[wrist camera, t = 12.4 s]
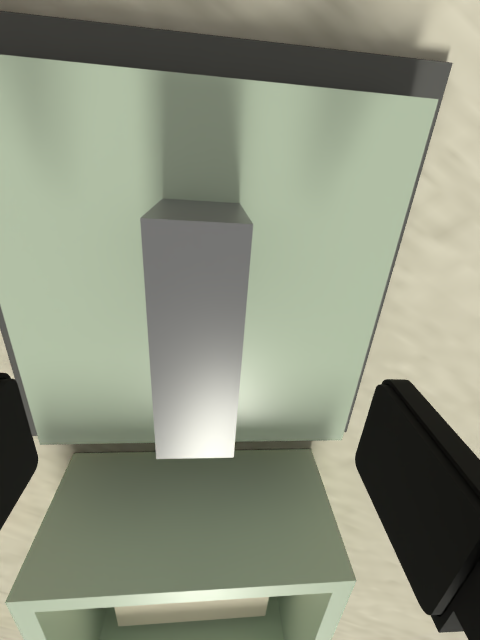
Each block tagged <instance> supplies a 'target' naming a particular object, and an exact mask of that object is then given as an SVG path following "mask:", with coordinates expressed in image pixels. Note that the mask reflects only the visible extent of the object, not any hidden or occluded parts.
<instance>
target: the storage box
mask: <svg viewBox="0 0 480 640" xmlns="http://www.w3.org/2000/svg"><path fill="white" fill-rule="evenodd" d="M355 583H356V578H355V575H354V572H353V569H352V567H351V564H350V561H349V558H348V555H347V552H346V549H345V546H344V543H343V540H342V538H341V535H340V532H339V529H338V526H337V523H336V520H335V517H334V514H333V511H332V509H331V506H330V503H329V500H328V497H327V494H326V491H325V488H324V485H323V483H322V480H321V477H320V474H319V471H318V468H317V465H316V462H315V459H314V456H313V454H312V451H311V449H278V450H234V458H184V459H156V452H111V453H74V454H73V456H72V459H71V461H70V463H69V465H68V467H67V469H66V472H65V474H64V476H63V478H62V480H61V482H60V485H59V487H58V489H57V491H56V493H55V495H54V498H53V500H52V502H51V504H50V506H49V508H48V511H47V513H46V515H45V517H44V519H43V522H42V524H41V526H40V528H39V530H38V532H37V535H36V537H35V539H34V541H33V543H32V545H31V548H30V550H29V552H28V554H27V556H26V558H25V561H24V563H23V565H22V567H21V569H20V571H19V574H18V576H17V578H16V580H15V582H14V585H13V587H12V589H11V591H10V593H9V595H8V598H7V600H6V602H5V603H6V605H7V607H8V609H9V611H10V613H11V615H12V617H13V619H14V621H15V623H16V625H17V627H18V629H19V631H20V633H21V635H22V637H23V639H24V640H331V639H332V637H333V635H334V632H335V630H336V628H337V625H338V623H339V621H340V618H341V616H342V614H343V611H344V609H345V606H346V604H347V602H348V599H349V597H350V595H351V592H352V590H353V588H354V585H355Z"/></svg>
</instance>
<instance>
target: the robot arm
mask: <svg viewBox="0 0 480 640" xmlns="http://www.w3.org/2000/svg"><path fill="white" fill-rule="evenodd" d="M355 463H356V467H357V470H358V472H359V474H360V476H361V479H362V481H363V483H364V485H365V487H366V489H367V492H368V494H369V496H370V498H371V500H372V502H373V505H374V507H375V509H376V511H377V513H378V516H379V518H380V520H381V522H382V524H383V526H384V529H385V531H386V533H387V535H388V537H389V539H390V542H391V544H392V546H393V548H394V550H395V552H396V555H397V557H398V559H399V561H400V563H401V566H402V568H403V570H404V572H405V574H406V576H407V579H408V581H409V583H410V585H411V587H412V589H413V592H414V594H415V596H416V598H417V600H418V602H419V604H420V606H421V608H422V609H423V611H424V612H425V613H426V614H427V615H431V617H432V619H433V621H434V623H435V625H436V628H437V630H438V632H439V633H440V632H458V631H464V632H465V634H466V636H467V638H468V640H480V460H479V458H478V457H477V456H476V455H475V454H474V453H473V452H472V451H471V449H470V448H469V447H468V446H467V445H466V444H465V443H464V442H463V440H462V439H461V438H460V437H459V436H458V435H457V434H456V433H455V431H454V430H453V429H452V428H451V427H450V426H449V425H448V424H447V422H446V421H445V420H444V419H443V418H442V417H441V416H440V415H439V413H438V412H437V411H436V410H435V409H434V408H433V407H432V406H431V404H430V403H429V402H428V401H427V400H426V399H425V398H424V397H423V395H422V394H421V393H420V392H419V391H418V390H417V389H416V388H415V386H414V385H413V384H412V383H411V382H410V381H408V380H395V379H387V380H384V381H383V382H382V384H381V385H378V386H377V387H376V389H375V393H374V396H373V399H372V402H371V406H370V409H369V412H368V416H367V419H366V422H365V425H364V429H363V432H362V435H361V438H360V442H359V445H358V448H357V452H356V455H355ZM37 464H38V455H37V451H36V448H35V444H34V441H33V437H32V433H31V430H30V426H29V423H28V419H27V416H26V412H25V409H24V405H23V401H22V398H21V394H20V391H19V387H18V384H17V382H16V380H14V379H11V378H10V376H9V375H8V374H6V373H0V530H1V528H2V526H3V525H4V523H5V521H6V520H7V518H8V516H9V515H10V513H11V511H12V509H13V508H14V506H15V504H16V503H17V501H18V499H19V498H20V496H21V494H22V493H23V491H24V489H25V487H26V486H27V484H28V482H29V481H30V479H31V477H32V476H33V474H34V472H35V470H36V467H37Z"/></svg>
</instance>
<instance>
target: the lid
mask: <svg viewBox="0 0 480 640" xmlns="http://www.w3.org/2000/svg"><path fill="white" fill-rule="evenodd" d="M438 100H439V99H431V98H421V97H412V96H402V95H392V94H382V93H372V92H363V91H353V90H343V89H333V88H323V87H314V86H304V85H294V84H284V83H274V82H265V81H255V80H245V79H235V78H225V77H216V76H206V75H196V74H186V73H176V72H167V71H157V70H147V69H137V68H128V67H118V66H108V65H98V64H88V63H79V62H69V61H59V60H49V59H39V58H30V57H20V56H10V55H0V306H1V309H2V313H3V316H4V320H5V323H6V327H7V330H8V334H9V337H10V341H11V344H12V348H13V351H14V355H15V358H16V362H17V365H18V369H19V372H20V376H21V379H22V383H23V386H24V390H25V393H26V397H27V400H28V404H29V407H30V411H31V414H32V418H33V421H34V425H35V428H36V432H37V435H38V439H39V442H40V445H47V444H114V443H155V448H156V459H184V458H234V448H235V442H248V441H315V440H342V437H343V434H344V430H345V427H346V423H347V420H348V416H349V413H350V409H351V406H352V402H353V399H354V395H355V392H356V388H357V385H358V381H359V378H360V374H361V371H362V367H363V363H364V360H365V356H366V353H367V349H368V346H369V342H370V339H371V335H372V332H373V328H374V325H375V321H376V318H377V314H378V311H379V307H380V304H381V300H382V297H383V293H384V290H385V286H386V283H387V279H388V276H389V272H390V269H391V265H392V262H393V258H394V255H395V251H396V248H397V244H398V240H399V237H400V233H401V230H402V226H403V223H404V219H405V216H406V212H407V209H408V205H409V202H410V198H411V195H412V191H413V188H414V184H415V181H416V177H417V174H418V170H419V167H420V163H421V160H422V156H423V153H424V149H425V146H426V142H427V139H428V135H429V132H430V128H431V125H432V121H433V118H434V114H435V110H436V107H437V103H438Z"/></svg>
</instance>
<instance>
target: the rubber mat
mask: <svg viewBox="0 0 480 640" xmlns="http://www.w3.org/2000/svg"><path fill="white" fill-rule="evenodd" d="M0 55H10V56H20V57H30V58H39V59H49V60H59V61H69V62H79V63H88V64H98V65H108V66H118V67H128V68H137V69H147V70H157V71H167V72H176V73H186V74H196V75H206V76H216V77H225V78H235V79H245V80H255V81H265V82H274V83H284V84H294V85H304V86H314V87H323V88H333V89H343V90H353V91H363V92H372V93H382V94H392V95H402V96H412V97H421V98H431V99H439V100H438V103H437V107H436V110H435V114H434V118H433V121H432V125H431V128H430V132H429V135H428V139H427V142H426V146H425V149H424V153H423V156H422V160H421V163H420V167H419V170H418V174H417V177H416V181H415V184H414V188H413V191H412V195H411V198H410V202H409V205H408V209H407V212H406V216H405V219H404V223H403V226H402V230H401V233H400V237H399V240H398V244H397V248H396V251H395V255H394V258H393V262H392V265H391V269H390V272H389V276H388V279H387V283H386V286H385V290H384V293H383V297H382V300H381V304H380V307H379V311H378V314H377V318H376V321H375V325H374V328H373V332H372V335H371V339H370V342H369V346H368V349H367V353H366V356H365V360H364V363H363V367H362V371H361V374H360V378H359V381H358V385H357V388H356V392H355V395H354V399H353V402H352V406H351V409H350V413H349V416H348V420H347V423H346V427H345V430H344V432H346V431H347V427H348V424H349V420H350V417H351V414H352V410H353V407H354V403H355V400H356V396H357V393H358V389H359V386H360V382H361V379H362V375H363V372H364V368H365V365H366V361H367V358H368V355H369V351H370V348H371V344H372V341H373V337H374V334H375V330H376V327H377V323H378V320H379V316H380V313H381V309H382V306H383V302H384V299H385V296H386V292H387V289H388V285H389V282H390V278H391V275H392V271H393V268H394V264H395V261H396V257H397V254H398V250H399V247H400V243H401V240H402V237H403V233H404V230H405V226H406V223H407V219H408V216H409V212H410V209H411V205H412V202H413V198H414V195H415V191H416V188H417V184H418V181H419V178H420V174H421V171H422V167H423V164H424V160H425V157H426V153H427V150H428V146H429V143H430V139H431V136H432V132H433V129H434V126H435V122H436V119H437V115H438V112H439V108H440V105H441V101H442V98H443V94H444V91H445V87H446V84H447V80H448V77H449V73H450V70H451V67H452V63H449V62H441V61H432V60H423V59H415V58H406V57H397V56H388V55H380V54H371V53H362V52H354V51H345V50H336V49H327V48H319V47H310V46H301V45H293V44H284V43H275V42H266V41H258V40H249V39H240V38H232V37H223V36H214V35H206V34H197V33H188V32H179V31H171V30H162V29H153V28H145V27H136V26H127V25H118V24H110V23H101V22H92V21H84V20H75V19H66V18H57V17H49V16H40V15H31V14H23V13H14V12H5V11H0ZM0 329H1V333H2V336H3V340H4V343H5V346H6V350H7V353H8V356H9V360H10V363H11V367H12V370H13V373H14V377H15V380H16V382H17V384H18V387H19V391H20V394H21V398H22V401H23V405H24V409H25V412H26V416H27V419H28V423H29V426H30V430H31V433H32V436H38V435H37V432H36V428H35V425H34V421H33V418H32V414H31V411H30V407H29V404H28V400H27V397H26V393H25V390H24V386H23V383H22V379H21V376H20V372H19V369H18V365H17V362H16V358H15V355H14V351H13V348H12V344H11V341H10V337H9V334H8V330H7V327H6V323H5V320H4V316H3V313H2V309H1V306H0Z"/></svg>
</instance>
